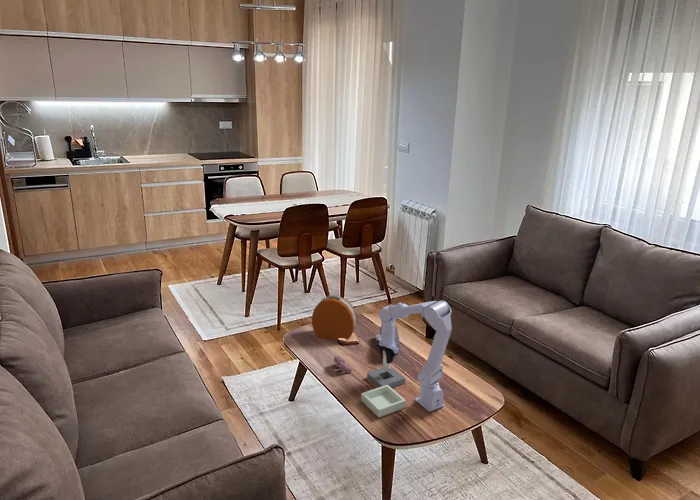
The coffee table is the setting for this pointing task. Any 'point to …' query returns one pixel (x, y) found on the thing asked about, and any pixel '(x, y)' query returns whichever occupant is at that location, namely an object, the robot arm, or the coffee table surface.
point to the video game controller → (342, 364)
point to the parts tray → (383, 401)
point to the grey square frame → (378, 376)
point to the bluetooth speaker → (395, 338)
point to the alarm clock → (334, 318)
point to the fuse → (385, 362)
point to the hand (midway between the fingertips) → (386, 360)
